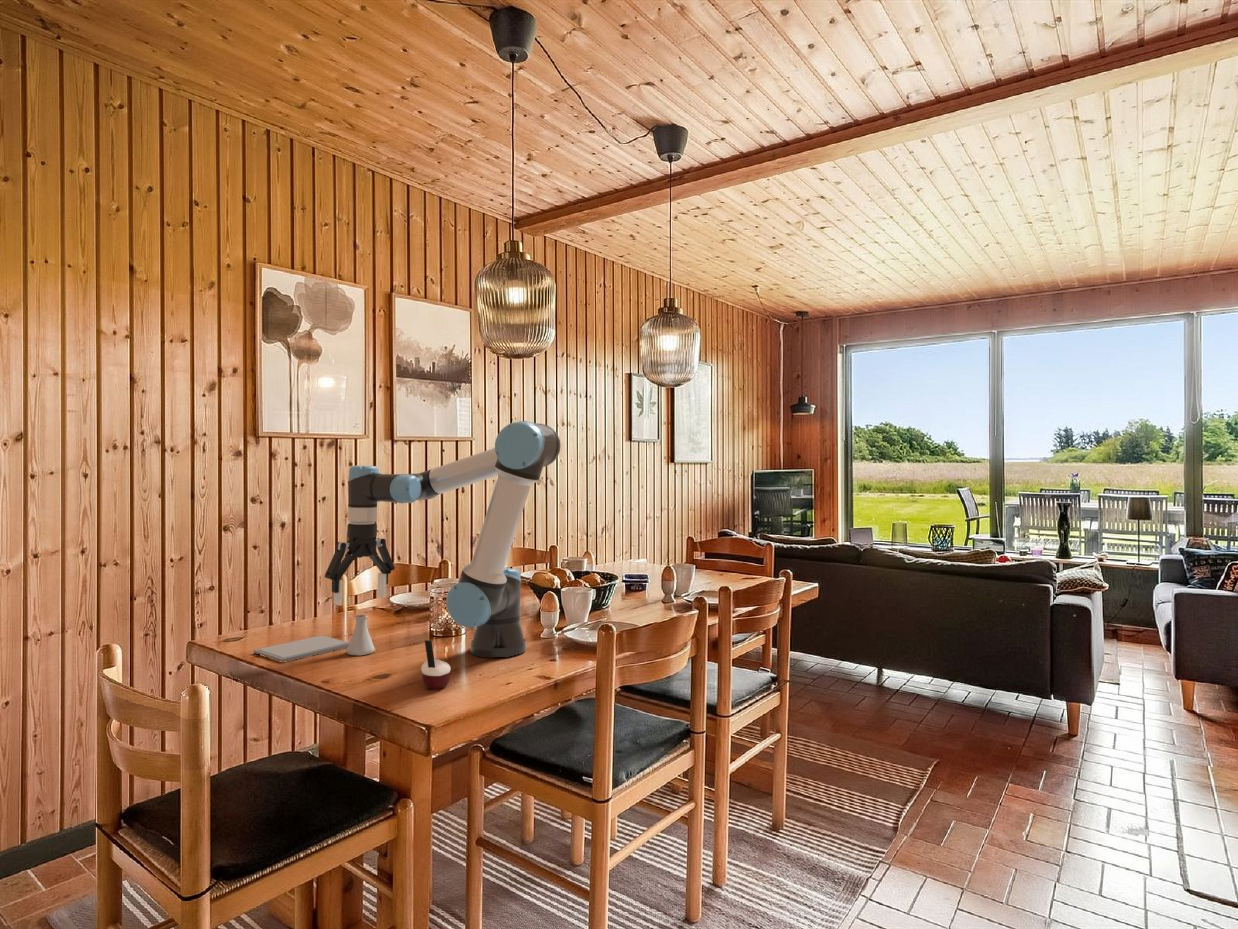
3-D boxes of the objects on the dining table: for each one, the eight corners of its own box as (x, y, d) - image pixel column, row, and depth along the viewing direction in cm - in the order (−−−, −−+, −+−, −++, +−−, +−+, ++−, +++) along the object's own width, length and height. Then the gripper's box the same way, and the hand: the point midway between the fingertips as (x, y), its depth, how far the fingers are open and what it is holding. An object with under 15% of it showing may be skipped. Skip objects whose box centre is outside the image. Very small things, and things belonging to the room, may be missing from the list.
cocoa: (439, 682, 169) (440, 631, 169) (459, 685, 165) (460, 634, 166) (409, 691, 160) (410, 638, 161) (429, 695, 157) (430, 641, 158)
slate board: (351, 646, 196) (351, 642, 196) (282, 663, 180) (282, 659, 180) (322, 638, 204) (322, 634, 204) (253, 653, 188) (253, 649, 188)
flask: (380, 651, 192) (381, 614, 192) (360, 657, 186) (361, 620, 186) (360, 647, 195) (361, 612, 195) (340, 654, 189) (340, 617, 189)
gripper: (391, 518, 203) (390, 592, 203) (311, 524, 182) (309, 606, 182) (408, 520, 198) (407, 595, 199) (328, 526, 178) (326, 610, 178)
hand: (360, 600), depth 190 cm, fingers open, 13 cm apart
